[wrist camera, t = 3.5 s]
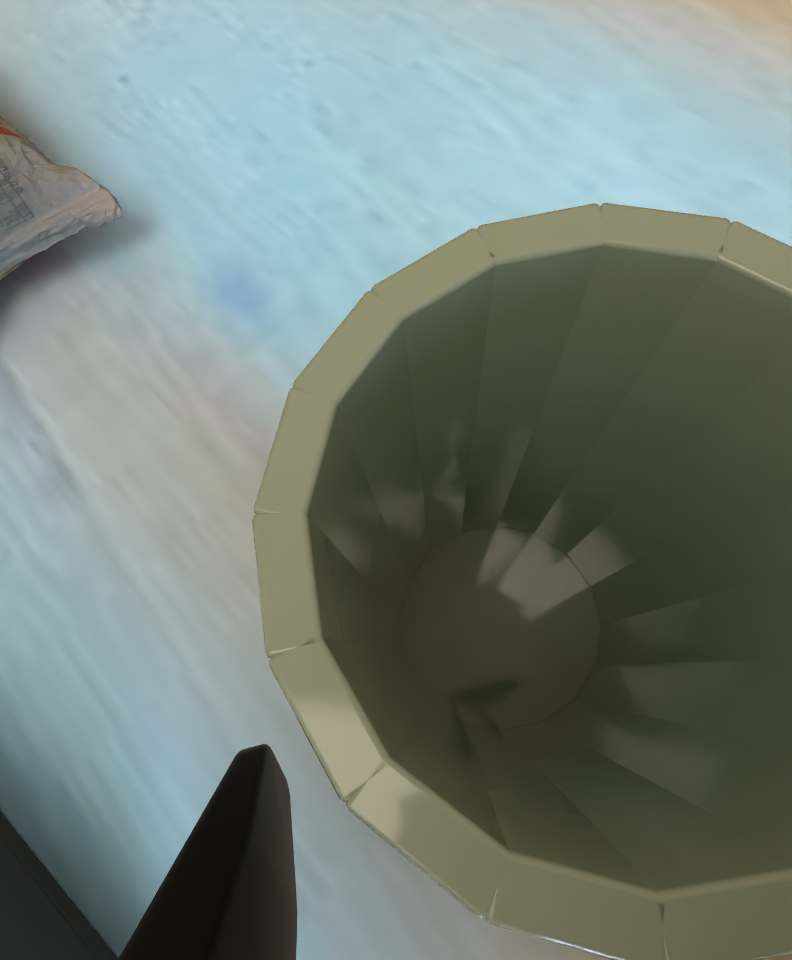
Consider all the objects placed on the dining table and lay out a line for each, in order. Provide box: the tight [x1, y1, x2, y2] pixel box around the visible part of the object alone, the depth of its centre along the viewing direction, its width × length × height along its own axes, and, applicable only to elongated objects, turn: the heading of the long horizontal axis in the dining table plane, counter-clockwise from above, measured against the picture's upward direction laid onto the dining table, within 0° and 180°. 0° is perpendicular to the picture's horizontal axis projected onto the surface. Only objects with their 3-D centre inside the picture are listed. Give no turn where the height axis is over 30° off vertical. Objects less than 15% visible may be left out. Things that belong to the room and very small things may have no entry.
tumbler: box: [253, 203, 792, 960], centre depth 11 cm, size 6×6×13 cm
